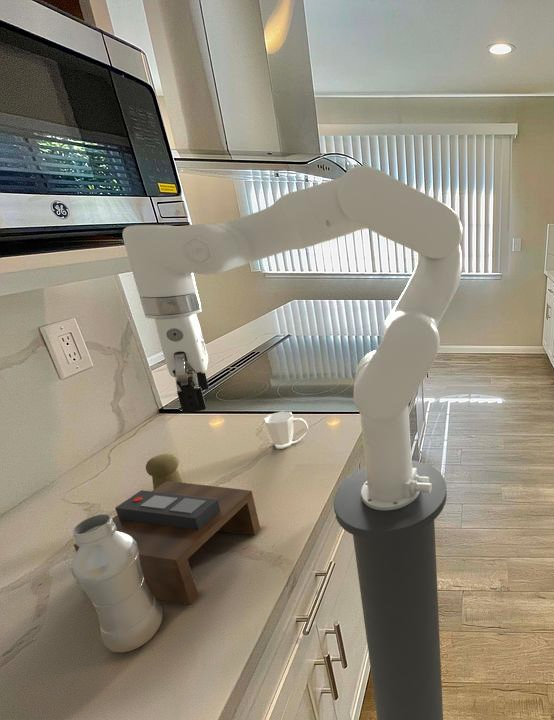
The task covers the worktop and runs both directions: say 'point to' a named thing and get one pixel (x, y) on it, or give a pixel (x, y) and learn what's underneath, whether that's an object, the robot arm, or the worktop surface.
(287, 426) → the cup
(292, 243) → the robot arm
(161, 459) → the cork
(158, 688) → the worktop surface
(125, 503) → the remote
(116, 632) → the plastic bottle
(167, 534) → the shelf
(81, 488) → the worktop surface
